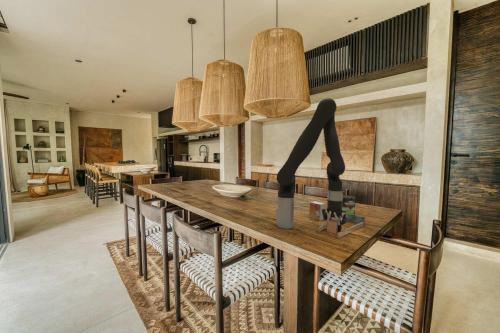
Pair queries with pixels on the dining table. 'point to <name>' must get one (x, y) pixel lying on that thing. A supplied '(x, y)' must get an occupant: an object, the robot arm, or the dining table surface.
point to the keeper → (332, 226)
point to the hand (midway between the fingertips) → (334, 229)
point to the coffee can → (348, 204)
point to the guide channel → (352, 219)
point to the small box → (316, 210)
